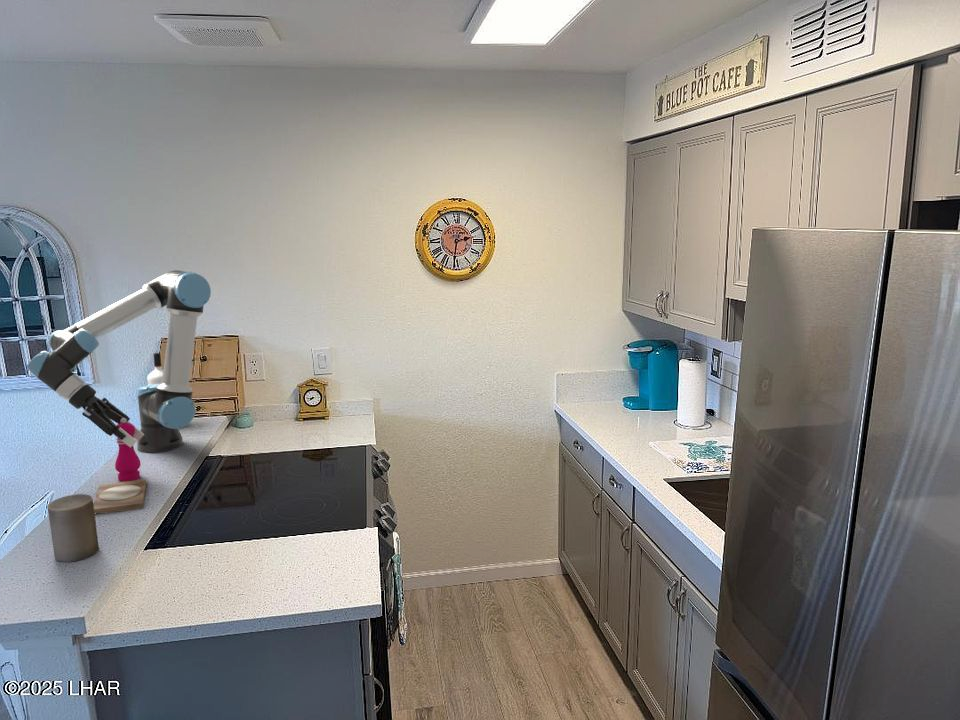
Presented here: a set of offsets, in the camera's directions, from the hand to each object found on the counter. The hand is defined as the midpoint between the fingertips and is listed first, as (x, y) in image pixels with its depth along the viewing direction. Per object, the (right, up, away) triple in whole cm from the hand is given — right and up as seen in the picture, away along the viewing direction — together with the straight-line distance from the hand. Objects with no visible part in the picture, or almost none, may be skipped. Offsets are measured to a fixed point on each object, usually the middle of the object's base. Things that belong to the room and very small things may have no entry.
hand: (137, 440), depth 217 cm
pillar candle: (+8, -23, -47) cm, 53 cm away
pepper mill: (-4, -12, +2) cm, 13 cm away
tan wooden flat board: (+2, -15, -14) cm, 21 cm away
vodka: (-18, -1, +57) cm, 60 cm away
